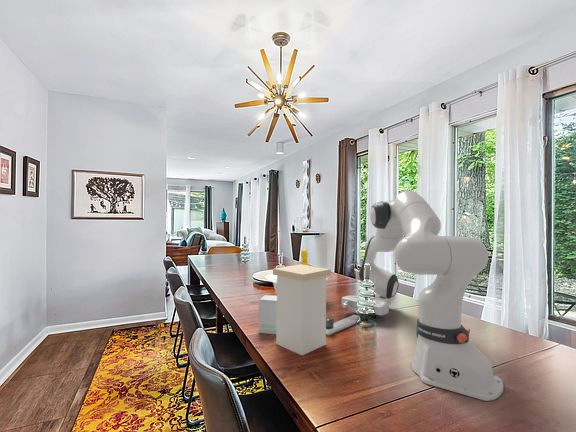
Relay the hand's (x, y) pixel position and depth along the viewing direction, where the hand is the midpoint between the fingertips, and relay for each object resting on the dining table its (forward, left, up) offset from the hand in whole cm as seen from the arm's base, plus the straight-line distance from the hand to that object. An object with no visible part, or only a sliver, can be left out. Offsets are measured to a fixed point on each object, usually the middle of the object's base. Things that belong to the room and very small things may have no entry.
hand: (353, 308), depth 131 cm
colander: (+37, -4, -6) cm, 37 cm away
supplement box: (+17, +31, -6) cm, 36 cm away
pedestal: (0, +32, -6) cm, 33 cm away
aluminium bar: (0, +7, -6) cm, 9 cm away
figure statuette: (+60, -38, -6) cm, 71 cm away
